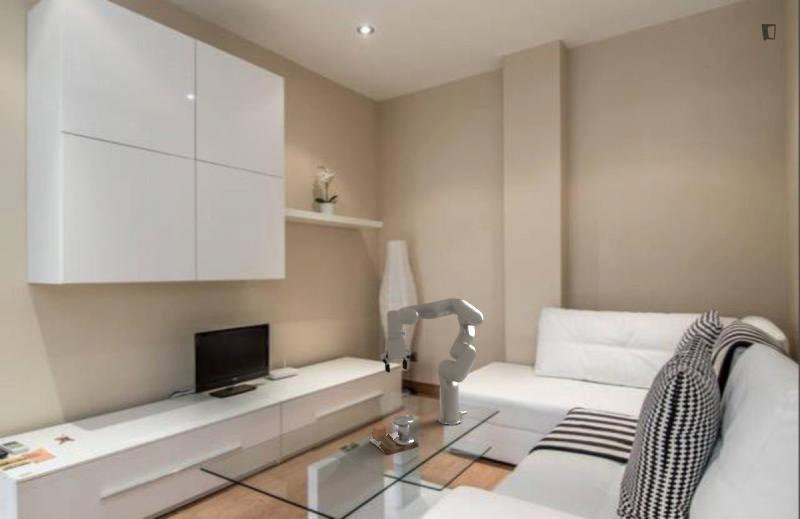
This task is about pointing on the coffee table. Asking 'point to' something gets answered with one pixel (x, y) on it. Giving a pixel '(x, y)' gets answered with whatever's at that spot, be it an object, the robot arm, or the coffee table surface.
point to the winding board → (398, 448)
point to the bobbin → (403, 431)
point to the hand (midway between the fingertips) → (396, 370)
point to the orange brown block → (379, 432)
